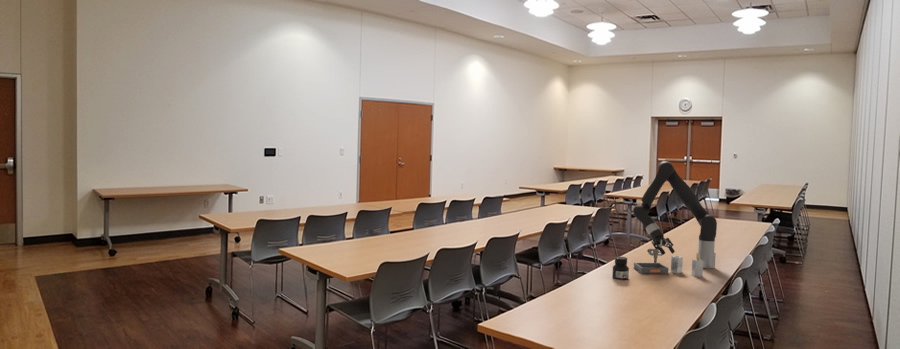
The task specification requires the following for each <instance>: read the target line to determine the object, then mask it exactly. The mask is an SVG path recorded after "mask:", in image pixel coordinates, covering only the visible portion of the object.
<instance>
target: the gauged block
mask: <svg viewBox="0 0 900 349" xmlns="http://www.w3.org/2000/svg"><path fill="white" fill-rule="evenodd" d="M695 255H696V256H695V258H692V261H691V276H693V277H696V278H699V277H700V278H701V277H703V275H704V274H703V273H704V268H703V260H701V259H700V253H698V252H696V254H695Z"/></svg>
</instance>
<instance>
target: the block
mask: <svg viewBox="0 0 900 349" xmlns="http://www.w3.org/2000/svg"><path fill="white" fill-rule="evenodd" d="M683 260H684V257H683V256H680V255H672V256H671V260H670V261H671V262H670V263H671V265H670V272H671V273H674V274H681V273H683V262H684V261H683Z"/></svg>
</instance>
